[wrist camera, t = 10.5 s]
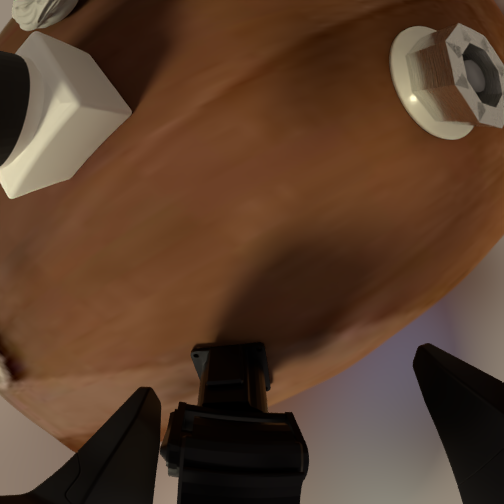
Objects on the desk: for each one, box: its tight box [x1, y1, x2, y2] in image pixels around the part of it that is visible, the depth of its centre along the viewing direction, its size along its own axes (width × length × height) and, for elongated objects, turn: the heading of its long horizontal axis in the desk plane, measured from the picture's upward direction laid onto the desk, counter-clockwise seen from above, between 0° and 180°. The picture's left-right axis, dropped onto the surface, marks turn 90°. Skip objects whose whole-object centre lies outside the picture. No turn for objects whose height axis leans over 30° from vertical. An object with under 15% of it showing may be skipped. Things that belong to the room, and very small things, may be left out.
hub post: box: [389, 26, 485, 140], centre depth 12 cm, size 10×10×5 cm
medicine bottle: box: [0, 31, 132, 199], centre depth 9 cm, size 7×7×12 cm
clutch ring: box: [405, 23, 504, 128], centre depth 12 cm, size 7×7×5 cm
